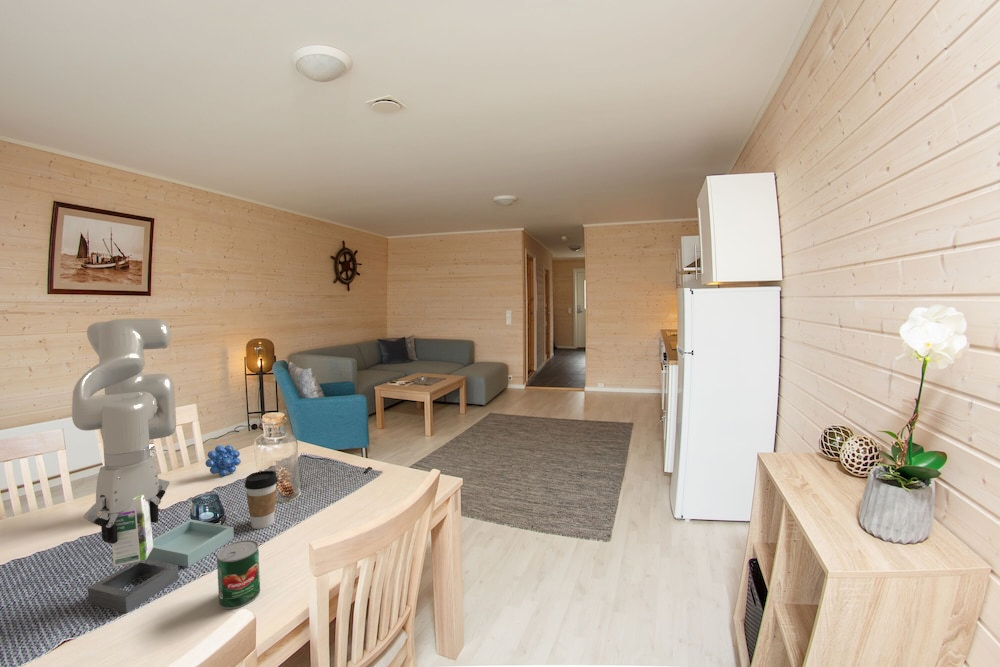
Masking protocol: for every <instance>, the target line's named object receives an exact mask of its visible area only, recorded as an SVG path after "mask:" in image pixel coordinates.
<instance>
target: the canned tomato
mask: <svg viewBox="0 0 1000 667" xmlns="http://www.w3.org/2000/svg"><path fill="white" fill-rule="evenodd" d="M259 547H260V546H259V542H258V541H256V540H253V539H244V540H238V541H234V542H231V543H229V544H227V545H225V546H222V547H221V549H219V550H218V552H217V554H216V565H217V566H216V567H217V585H218V586H217V587H218V588H217V589H218V590H217V591H218V605H219V607H220V608H222V609H224V610H235V609H239V608H242V607H244V606H246V605H248V604H250V603H252V602H253V601H255V600H256V599H257V598H258V597H259V595H260V593H261V586H260V585H261V582H260V580H261V578H260V576H261V575H260V554H259V553H260V552H259V550H260V549H259Z"/></svg>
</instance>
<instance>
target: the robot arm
mask: <svg viewBox="0 0 1000 667" xmlns="http://www.w3.org/2000/svg"><path fill="white" fill-rule="evenodd" d="M86 336H87V340H88V342H89V344H90V345H91V347H92V349H93V350H94V352H95V353H96V354H97V356H98V360H99V362H98V363H97V364H96V365H94V366H93V367H91V368H90V369H89V370H87V371H86V372H85V373H84V374H83V375H82V376H81V377H80V378H79V379H78V380H77V382H76V384H75V385H74V387H73V391H72V399H71V400H72V402H71V419H72V423H73V425H74V426H75V427H76V428H77V429H78V430H81V431H97V430H100V431H99V432H100V435H101V438H102V445H103V458H104V466H101V467H100V468H99V472H98V476H97V479H96V480H97V481H96V490H95V503H94V504H93V505H92V506H91V507H90V508H89V509H88V510H87V511H86V512H85V513H84V514H83V519H85V520H86V521H88V522H90V523H91V524H94V525H97V526H100V527H101V529H100V530H101V539H102V541H104V543H107V544H111V545H112V544H114V543H116V542H117V541H118V538H117V526H116V525H114V522H115V520H116V518H117V516H118V514H119V513H120V512H122V511H124V510H127V509H128V508H130V505H131V502H132V500H133V499H134V498H136V497H138V496H140V495H142V494H143V495H144V498H145V501H147V500H150V512H151V523H153V524H156V523H157V522H159V505H160V504H161V503H162V498H163V497H164V495H165V494H166V491H167V489H168V487H169V485H170V483H171V482H170V481H169V480H165V479H160V478H159V476H158V470H157V464H156V463H155V459H154V457H153V455H151V450H153V449H154V448H155V444H154V443H153V442H151V443H150V440H155V439H163V438H166V437H169V436H172V435H173V434H174V433H175V431H176V430H177V428H176V427H177V414H176V394H175V385H174V381H173V379H172V377H171V375H168V374H167V373H151V374H149V373H147V374H143V369H144V368H145V367H146V366H145V364H146V363H145V351H144V350H161V349H162V350H165V349H167V348H168V347H169V346H170V343H171V340H172V332H171V328H170V326H169V324H168V322H167V321H166V320H165V319H161V318H118V319H111V320H107V321H99V322H95V323H92V324H90V325H88V326H87V330H86ZM103 389H104V394H102V395H101V394H100V395H95V394H96V393H97V392H100V391H101V390H103ZM99 512H102V514H101V516H99V515H98V514H99ZM109 514H111V515H110V516H109Z"/></svg>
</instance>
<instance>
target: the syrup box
mask: <svg viewBox="0 0 1000 667" xmlns="http://www.w3.org/2000/svg"><path fill="white" fill-rule="evenodd" d="M110 515H111V514H109V516H110ZM114 525H116V526H117V538H118V541H117V542H116V543H114V544H112V543H111V545H112V546H111V547H112V563H113V564H112V565H113V567H114V568H117V567H120V566H124V565H130V564H132V563H134V562H138V561H144V560H146V559H147V557H148V555H149V554H150V552H151V550H152V549H153V539H154V538H153V528H152V527H153V526H152V522H151V512H150V500H147V501H145V498H144V495H143V494H142V495H140V496H138V497H136V498H134V499H133V500H132V502H131V505H130V508H128V509H127V510H124V511H122V512H120V513H119V514H118V516H117V518H116V520H115V522H114Z"/></svg>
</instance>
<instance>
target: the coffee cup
mask: <svg viewBox="0 0 1000 667" xmlns="http://www.w3.org/2000/svg"><path fill="white" fill-rule="evenodd" d="M277 484H278V476H277V472H276V471H275V470H261V471H257V472H253V473H250V474H249V475H247V476H246V478H245V482H244V488H245V489H246V499H247V500H246V501H247V506H248V513H249V514H248V515H249V519H250V526H251V528H252V529H255V530H259V529H265V528H268V527H270V526H272V525H273V524H274V522H275V514H276V513H275V512H276V502H277V501H276V500H277Z"/></svg>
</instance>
